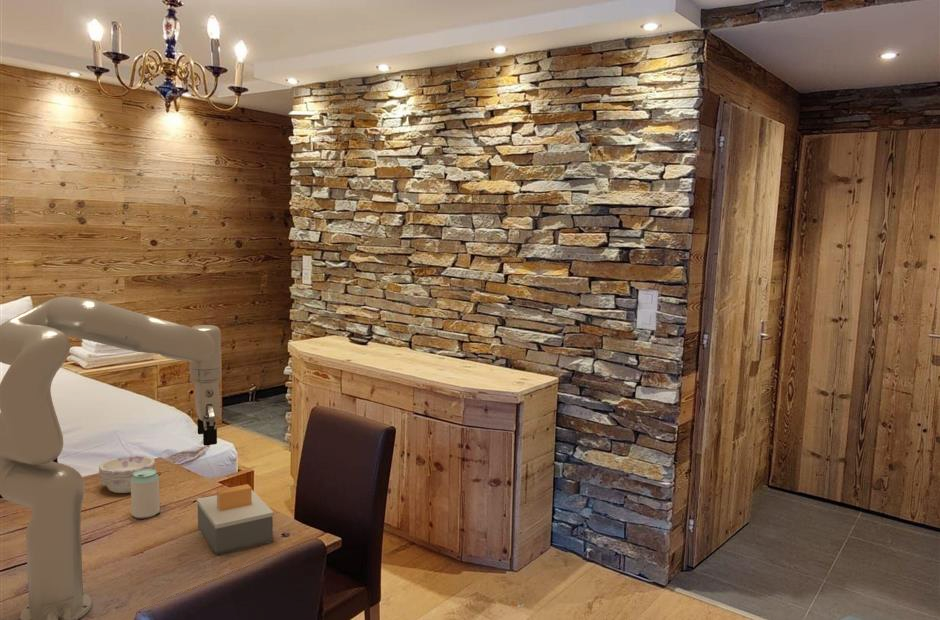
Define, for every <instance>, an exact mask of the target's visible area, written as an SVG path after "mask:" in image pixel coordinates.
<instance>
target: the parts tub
mask: <svg viewBox="0 0 940 620" xmlns="http://www.w3.org/2000/svg"><path fill="white" fill-rule="evenodd" d="M273 517H274V516H272V517H267V518H262V519H258V520H253V521H249V522H244V523H240V524H235V525H231V526H226V527H221V528H217V529H215V527H214V526H213V525H212V523H211V522H210V520H209V519H208V518H207V516H206V515H205V514H204V512H203V511H202V509H201V508H200V507H199V505H198V504H197V528H198V530H199V531H201V532H200V533H201V535H202V536H203V538H204V539H205V541H206V542H207V544H208V545H209V547H210V548H211V549H212V551H213V553H214V554H215V556H220V555H224V554H229V553H232V552H236V551H241V550H245V549H249V548H253V547H257V546H261V545H262V546H263V545H265V544H270V543H273V540H274V539H273V537H274V536H273V534H274V533H273V532H274V531H273V529H274V528H273V527H274V526H273V524H274V523H273V522H274V520H273Z"/></svg>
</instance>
